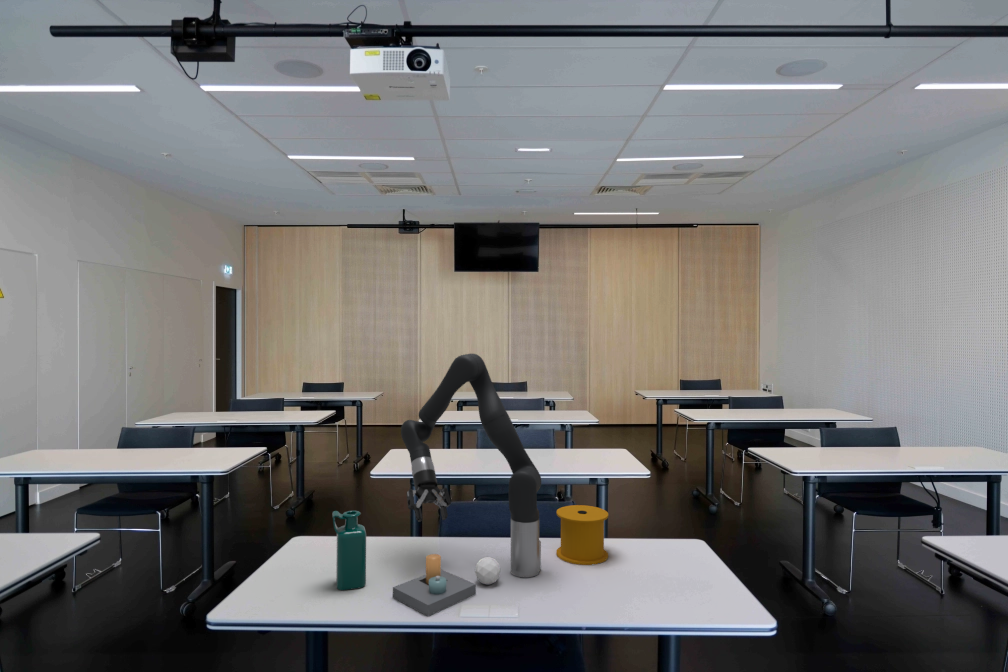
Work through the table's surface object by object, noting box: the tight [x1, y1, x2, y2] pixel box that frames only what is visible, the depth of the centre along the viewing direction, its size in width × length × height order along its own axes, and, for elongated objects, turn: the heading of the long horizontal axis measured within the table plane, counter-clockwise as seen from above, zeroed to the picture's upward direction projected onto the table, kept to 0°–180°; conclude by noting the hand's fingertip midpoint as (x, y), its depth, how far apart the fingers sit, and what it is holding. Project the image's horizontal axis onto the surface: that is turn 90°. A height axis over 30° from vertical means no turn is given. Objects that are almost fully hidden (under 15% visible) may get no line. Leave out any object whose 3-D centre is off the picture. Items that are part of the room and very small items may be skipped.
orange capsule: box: [425, 553, 442, 585], centre depth 165 cm, size 4×4×10 cm
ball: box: [474, 556, 501, 586], centre depth 170 cm, size 8×8×8 cm
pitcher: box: [332, 510, 367, 591], centre depth 169 cm, size 10×8×22 cm
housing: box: [392, 569, 477, 617], centre depth 161 cm, size 18×16×7 cm
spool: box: [555, 504, 609, 566], centre depth 194 cm, size 18×18×15 cm
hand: (432, 520), depth 176 cm, fingers open, 8 cm apart
